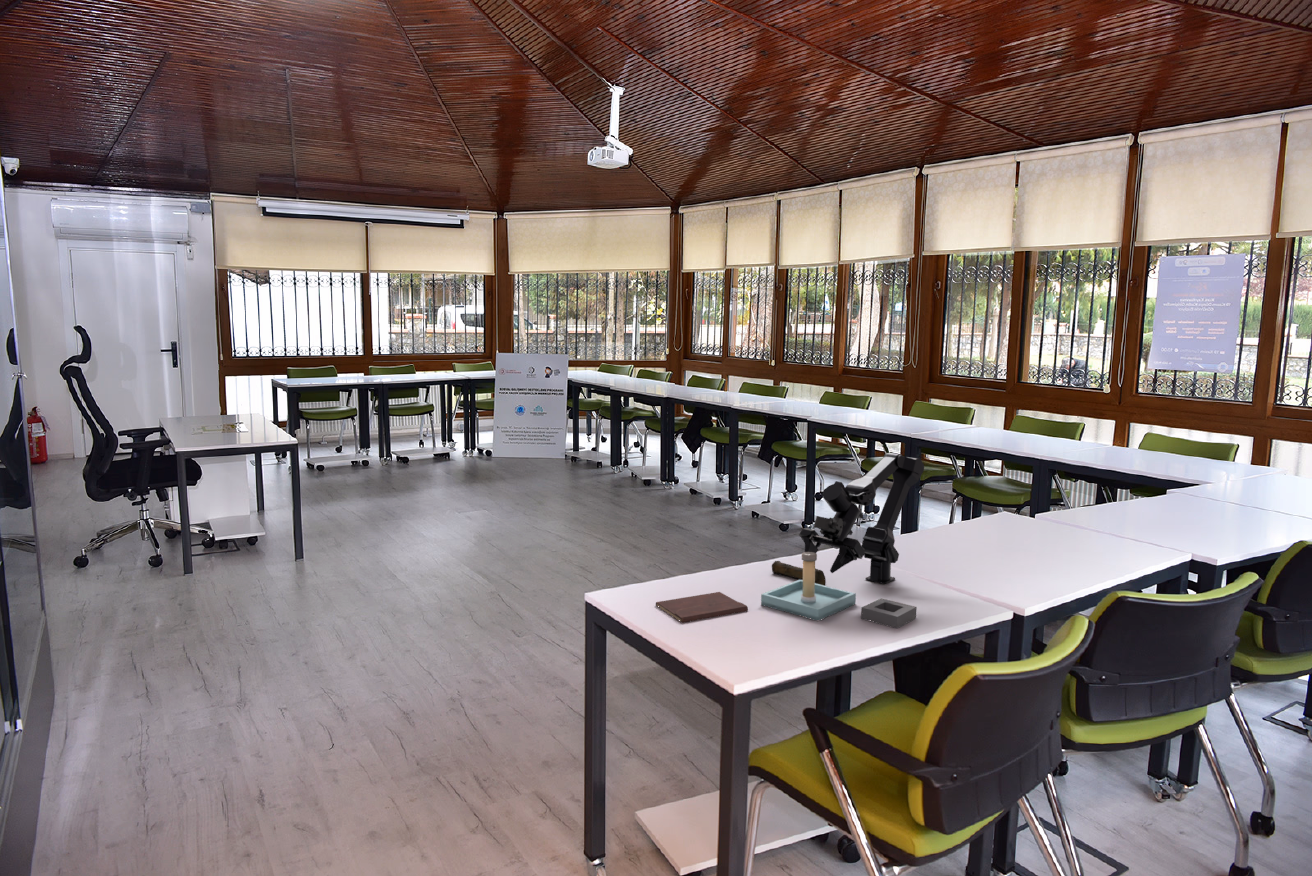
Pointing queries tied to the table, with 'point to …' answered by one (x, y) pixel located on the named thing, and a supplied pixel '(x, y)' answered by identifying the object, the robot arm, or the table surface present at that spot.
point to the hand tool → (796, 572)
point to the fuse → (808, 577)
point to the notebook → (701, 607)
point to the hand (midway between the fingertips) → (817, 568)
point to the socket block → (888, 612)
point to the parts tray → (824, 606)
